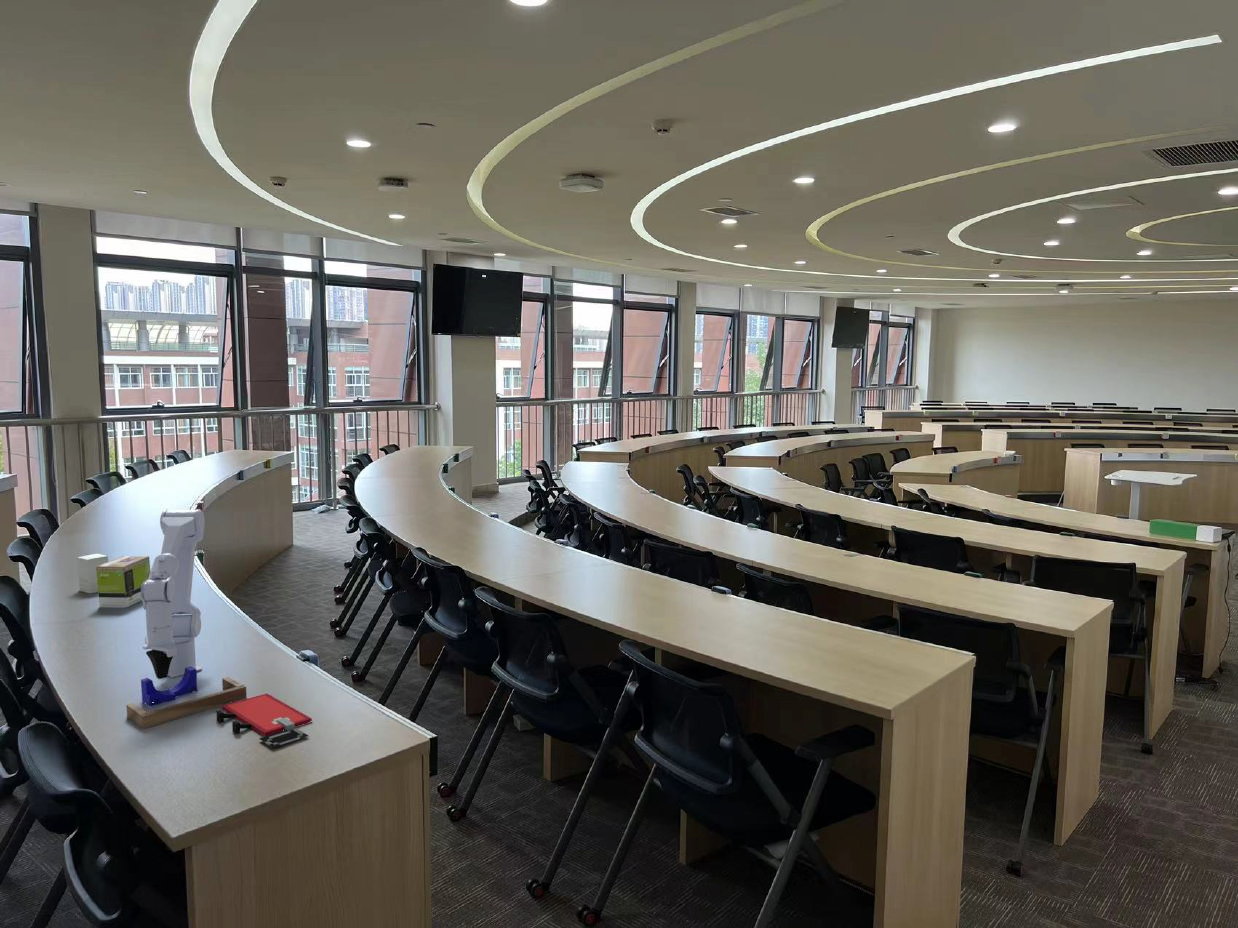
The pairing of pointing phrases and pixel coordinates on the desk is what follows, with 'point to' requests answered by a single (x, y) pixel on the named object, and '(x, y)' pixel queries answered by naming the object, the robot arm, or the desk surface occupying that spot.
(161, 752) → the desk surface
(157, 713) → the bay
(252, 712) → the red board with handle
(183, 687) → the blue curved bracket
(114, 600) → the tea box
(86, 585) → the supplement box
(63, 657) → the desk surface
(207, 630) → the desk surface
